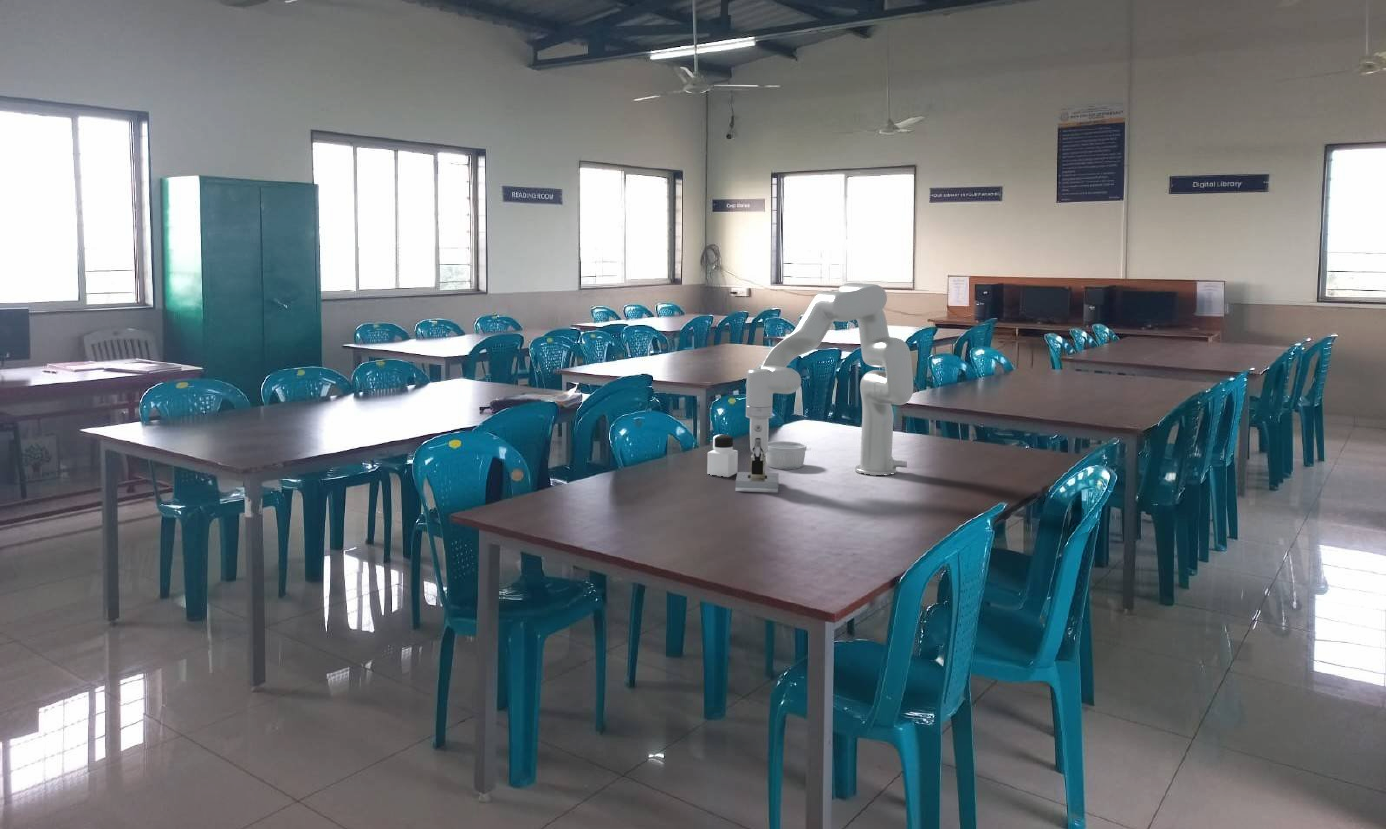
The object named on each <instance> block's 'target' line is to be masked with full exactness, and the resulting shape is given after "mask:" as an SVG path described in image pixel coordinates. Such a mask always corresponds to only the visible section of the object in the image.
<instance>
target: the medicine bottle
mask: <svg viewBox="0 0 1386 829" xmlns="http://www.w3.org/2000/svg"><path fill="white" fill-rule="evenodd" d="M738 457H739V451H738V450H737V449H734V437H733V436H731V435H729V434H723V433H722V434H716V435H714V436H713V438H712V450H710V451H708V452H707V463H706V464H707V467H706V468H707V470H706V473H707V474H710V475H709V476H712V475H717V476H716V477H721V476H723V478H729V477H732V476H734V475H735V474H736V475H737V472H738V467H739V466H738V460H739V459H738Z"/></svg>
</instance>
